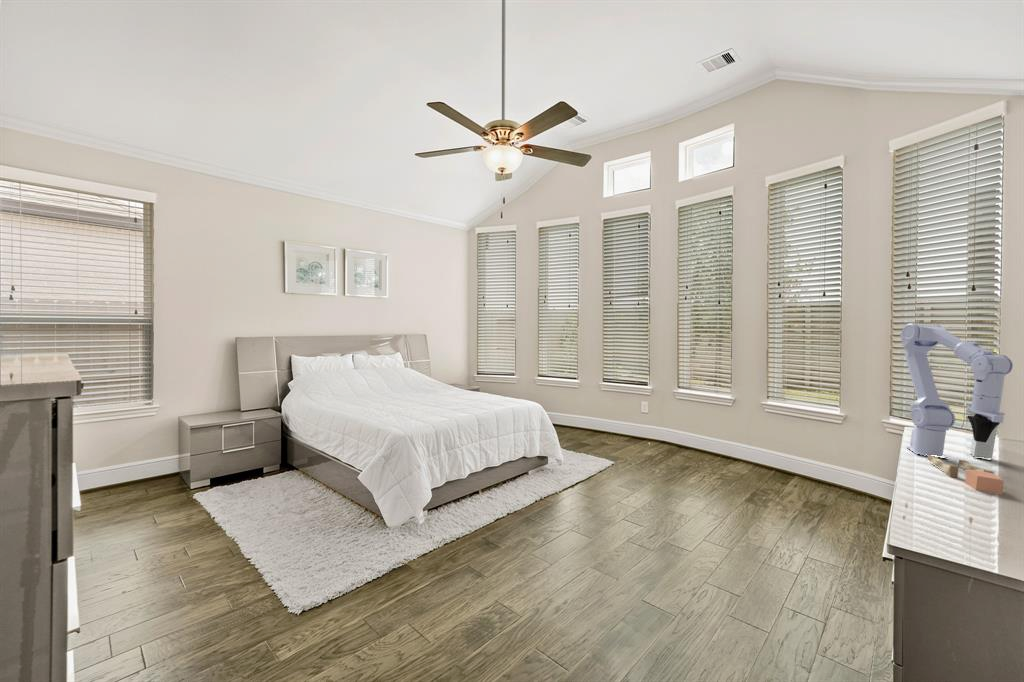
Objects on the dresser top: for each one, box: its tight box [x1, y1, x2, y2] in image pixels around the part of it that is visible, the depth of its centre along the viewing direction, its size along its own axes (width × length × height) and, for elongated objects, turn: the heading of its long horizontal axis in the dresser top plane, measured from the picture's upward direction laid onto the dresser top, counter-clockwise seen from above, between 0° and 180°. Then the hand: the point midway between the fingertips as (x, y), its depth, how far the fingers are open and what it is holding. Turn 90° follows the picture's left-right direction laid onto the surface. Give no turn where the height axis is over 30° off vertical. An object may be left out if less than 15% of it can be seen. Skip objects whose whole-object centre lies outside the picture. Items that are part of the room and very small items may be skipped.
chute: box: [926, 455, 995, 479], centre depth 131 cm, size 15×9×3 cm, turn 155°
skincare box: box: [970, 426, 998, 459], centre depth 146 cm, size 6×4×12 cm
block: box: [964, 469, 1005, 495], centre depth 118 cm, size 6×5×4 cm
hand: (980, 441), depth 130 cm, fingers closed
